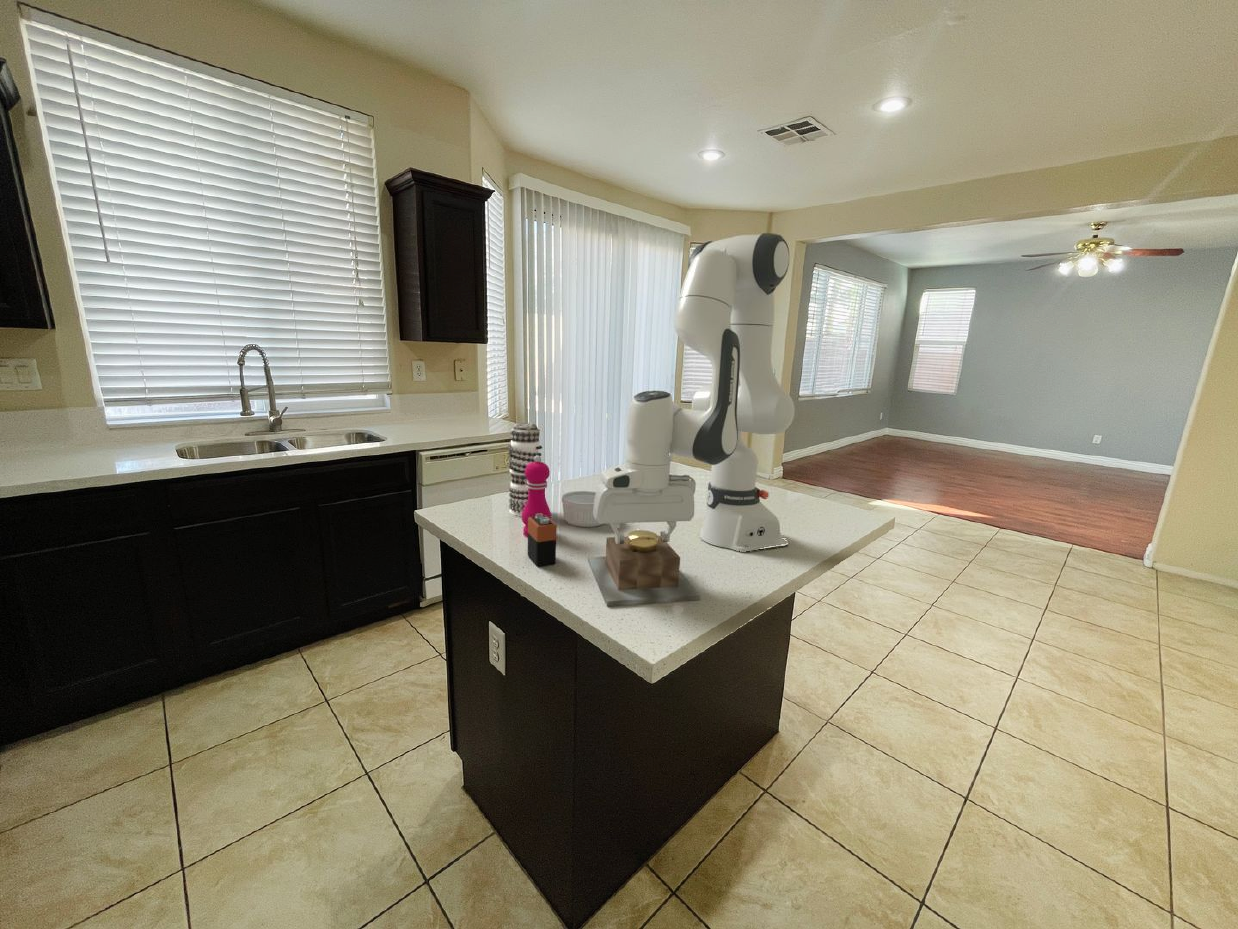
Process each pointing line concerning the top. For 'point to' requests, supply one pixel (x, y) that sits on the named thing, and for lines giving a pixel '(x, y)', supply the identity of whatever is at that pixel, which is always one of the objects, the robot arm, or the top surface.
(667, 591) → the board
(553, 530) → the battery
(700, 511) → the top surface
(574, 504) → the ramekin
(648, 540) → the gold grey cylinder
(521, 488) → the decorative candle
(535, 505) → the pepper mill
